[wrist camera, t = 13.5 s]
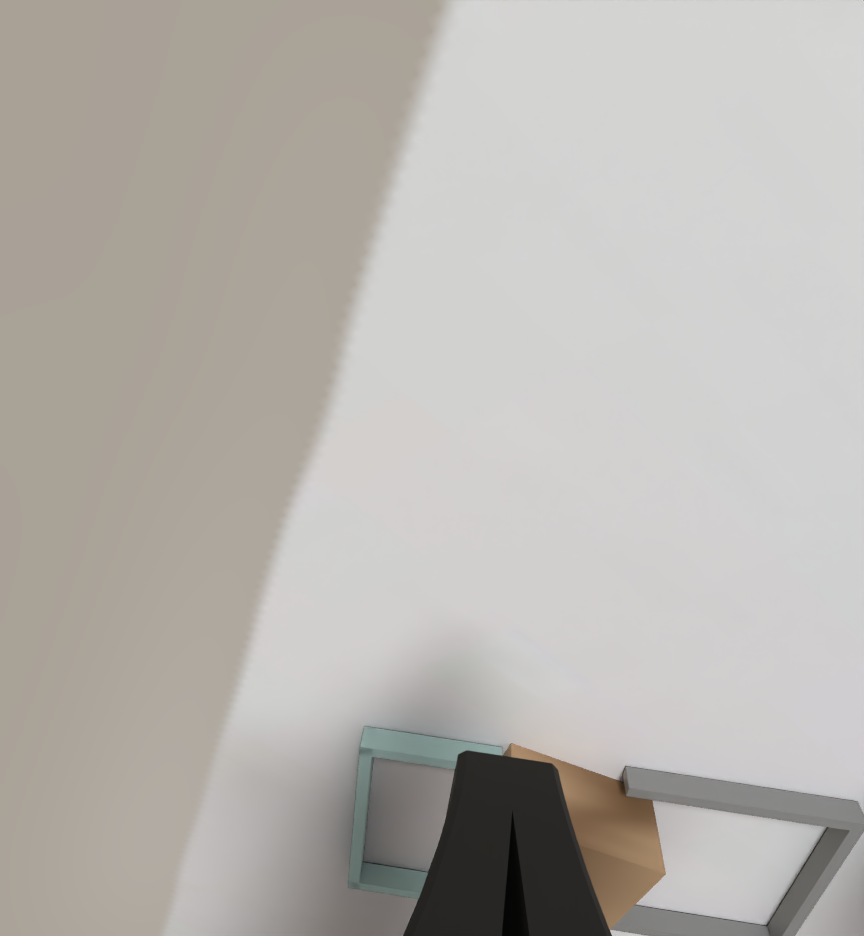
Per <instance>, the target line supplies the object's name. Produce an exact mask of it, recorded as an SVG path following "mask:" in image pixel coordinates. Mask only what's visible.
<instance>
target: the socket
mask: <svg viewBox="0 0 864 936" xmlns="http://www.w3.org/2000/svg"><path fill="white" fill-rule="evenodd" d="M623 779H624V785H625V792H626V796H629V797H635V798H642V799H648V800H655V801H661V802H668V803H674V804H681V805H687V806H694V807H700V808H707V809H713V810H720V811H726V812H733V813H739V814H746V815H752V816H759V817H765V818H772V819H778V820H785V821H791V822H798V823H804V824H811V825H817V826H824V827H828V828H827V830H826V832H825V833H824V835H823V837H822V838H821V840H820V841H819V843H818V845H817V846H816V848H815V849H814V851H813V853H812V854H811V856H810V858H809V859H808V861H807V862H806V864H805V866H804V867H803V869H802V871H801V872H800V874H799V875H798V877H797V879H796V880H795V882H794V883H793V885H792V887H791V888H790V890H789V892H788V893H787V895H786V896H785V898H784V900H783V901H782V903H781V905H780V906H779V908H778V909H777V911H776V913H775V914H774V916H773V917H772V919H771V921H770V922H769V924H768V926H762V925H756V924H750V923H743V922H737V921H731V920H724V919H718V918H712V917H705V916H699V915H693V914H686V913H680V912H674V911H668V910H661V909H655V908H649V907H642V906H636V905H634V906H633V907H632V908H631V909H630V910H629V911H628V912H627V913H626V914H625V915H624V916H623V917H622V918H621V919H620V920H619V921H618V922H617V923H616V924H615V925H614V926H613V927H612V928H611V929H610V930H616V931H622V932H629V933H635V934H641V935H647V936H795V935H796V933H797V932H798V930H799V929H800V927H801V926H802V924H803V923H804V921H805V920H806V918H807V917H808V915H809V914H810V912H811V911H812V909H813V908H814V906H815V904H816V903H817V901H818V900H819V898H820V897H821V895H822V894H823V892H824V891H825V889H826V888H827V886H828V885H829V883H830V882H831V880H832V879H833V877H834V876H835V874H836V873H837V871H838V870H839V868H840V867H841V865H842V864H843V862H844V861H845V859H846V858H847V856H848V854H849V853H850V851H851V850H852V848H853V847H854V845H855V844H856V842H857V841H858V839H859V838H860V836H861V835H862V833H863V832H864V814H863V812H862V810H861V808H860V806H859V803H858V802H856V801H850V800H843V799H836V798H830V797H823V796H817V795H810V794H804V793H797V792H791V791H784V790H778V789H771V788H765V787H758V786H752V785H745V784H738V783H732V782H725V781H719V780H712V779H706V778H699V777H693V776H686V775H680V774H673V773H667V772H660V771H654V770H647V769H640V768H634V767H627V766H626V767H625V770H624V773H623Z"/></svg>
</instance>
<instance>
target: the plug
mask: <svg viewBox="0 0 864 936" xmlns="http://www.w3.org/2000/svg"><path fill="white" fill-rule="evenodd" d="M503 756H508V757H515V758H521V759H528V760H534V761H541V762H547V763H552V764H553V765H554V766H555V767H556V768H557V769H558V772H559V776H560V781H561V785H562V789H563V793H564V796H565V800H566V804H567V808H568V811H569V815H570V818H571V821H572V825H573V828H574V831H575V834H576V838H577V841H578V844H579V847H580V850H581V853H582V856H583V859H584V862H585V865H586V868H587V871H588V874H589V876H590V879H591V882H592V885H593V888H594V891H595V893H596V896H597V898H598V901H599V904H600V906H601V909H602V912H603V914H604V917H605V919H606V922H607V925H608V927H609V930H610V929H611V928H612V927H613V926H614V925H615V924H616V923H617V922H618V921H619V920H620V919H621V918H622V917H623V916H624V915H625V914H626V913H627V912H628V911H629V910H630V909H631V908H632V907H633V906H634V905H635V904H636V903H637V902H638V901H639V900H640V899H641V898H642V897H643V896H644V895H645V894H646V893H647V892H648V891H649V890H650V889H651V888H652V887H653V886H654V885H655V884H656V883H657V882H658V881H659V880H660V879H661V878H662V877H663V876H664V875H665V874H666V872H665V867H664V861H663V856H662V851H661V845H660V840H659V834H658V829H657V823H656V818H655V813H654V807H653V802H652V800H648V799H642V798H635V797H629V796H626V792H625V785H624V783H623V782H621V781H618V780H615V779H612V778H609V777H606V776H603V775H601V774H598V773H595V772H592V771H589V770H586V769H583V768H581V767H578V766H575V765H572V764H569V763H566V762H563V761H561V760H558V759H555V758H552V757H549V756H546V755H543V754H541V753H538V752H535V751H532V750H529V749H526V748H523V747H521V746H518V745H515V744H512V743H511V744H510V746H509V747H508V749H507V750H506V752H505V753H504V755H503Z"/></svg>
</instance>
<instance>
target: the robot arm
mask: <svg viewBox="0 0 864 936" xmlns="http://www.w3.org/2000/svg"><path fill="white" fill-rule="evenodd" d="M403 936H612V935H611V932H610V930H609V927H608V925H607V922H606V919H605V917H604V914H603V912H602V909H601V906H600V904H599V901H598V898H597V896H596V893H595V891H594V888H593V885H592V882H591V879H590V876H589V874H588V871H587V868H586V865H585V862H584V859H583V856H582V853H581V850H580V847H579V844H578V841H577V838H576V834H575V831H574V828H573V825H572V821H571V818H570V815H569V811H568V808H567V804H566V800H565V796H564V793H563V789H562V785H561V781H560V776H559V772H558V769H557V768H556V767H555V766H554V765H553V764H552V763H547V762H541V761H534V760H528V759H521V758H515V757H508V756H501V755H495V754H488V753H482V752H475V751H469V750H466V751H464V752H462V753H460V754H458V757H457V762H456V767H455V773H454V778H453V783H452V788H451V794H450V799H449V804H448V810H447V815H446V820H445V824H444V827H443V830H442V834H441V837H440V840H439V844H438V847H437V849H436V852H435V855H434V858H433V861H432V863H431V866H430V869H429V872H428V874H427V877H426V880H425V883H424V886H423V888H422V891H421V894H420V897H419V899H418V902H417V904H416V907H415V909H414V912H413V914H412V916H411V919H410V921H409V923H408V926H407V928H406V930H405V933H404V935H403Z"/></svg>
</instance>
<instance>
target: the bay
mask: <svg viewBox="0 0 864 936" xmlns="http://www.w3.org/2000/svg"><path fill="white" fill-rule="evenodd" d="M466 750H469V751H475V752H482V753H488V754H495V755H501V756H502V747H497V746H490V745H484V744H477V743H471V742H464V741H458V740H451V739H444V738H438V737H431V736H425V735H418V734H412V733H405V732H399V731H392V730H386V729H379V728H373V727H366V726H364V731H363V735H362V740H361V744H360V752H359V764H358V775H357V787H356V798H355V810H354V821H353V833H352V844H351V855H350V867H349V878H348V888H353V889H359V890H365V891H372V892H378V893H384V894H390V895H397V896H403V897H409V898H415V899H419V897H420V894H421V891H422V888H423V886H424V883H425V880H426V877H427V874H428V872H421V871H415V870H409V869H402V868H396V867H390V866H384V865H377V864H371V863H365V862H363V856H364V847H365V837H366V827H367V817H368V807H369V798H370V788H371V778H372V768H373V759H374V757H376V758H383V759H389V760H396V761H402V762H409V763H415V764H422V765H428V766H434V767H441V768H447V769H454V770H455V767H456V762H457V757H458V754H460V753H462V752H464V751H466Z"/></svg>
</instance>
